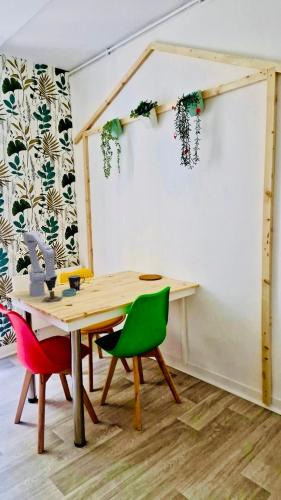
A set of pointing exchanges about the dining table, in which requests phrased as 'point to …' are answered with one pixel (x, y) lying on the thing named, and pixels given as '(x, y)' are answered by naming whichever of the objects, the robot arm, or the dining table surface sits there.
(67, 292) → the bowl
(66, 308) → the dining table surface
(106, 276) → the dining table surface
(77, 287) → the coffee mug
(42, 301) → the mat
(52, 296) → the lid
